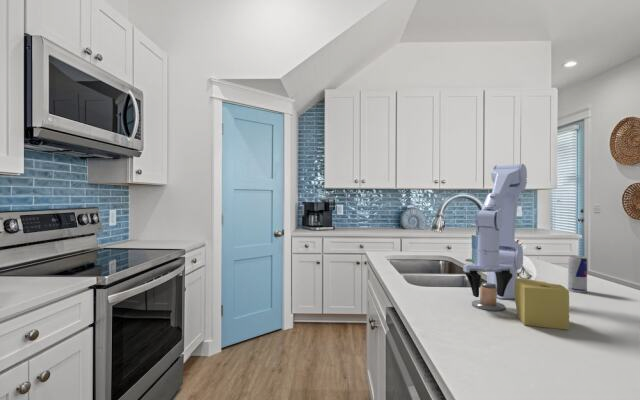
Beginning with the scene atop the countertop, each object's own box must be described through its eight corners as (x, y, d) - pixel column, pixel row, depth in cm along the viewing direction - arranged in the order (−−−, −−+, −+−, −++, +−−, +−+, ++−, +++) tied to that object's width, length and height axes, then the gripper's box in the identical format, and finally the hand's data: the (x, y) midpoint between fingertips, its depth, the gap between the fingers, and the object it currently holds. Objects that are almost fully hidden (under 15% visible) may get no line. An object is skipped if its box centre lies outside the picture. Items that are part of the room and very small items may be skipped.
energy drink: (590, 293, 121) (590, 258, 121) (572, 292, 122) (572, 257, 122) (581, 289, 126) (582, 256, 126) (565, 288, 127) (565, 255, 127)
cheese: (557, 317, 95) (557, 280, 95) (571, 331, 85) (571, 290, 85) (513, 313, 99) (514, 277, 99) (522, 326, 88) (522, 286, 88)
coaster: (466, 302, 109) (466, 300, 109) (493, 301, 110) (493, 299, 110) (481, 311, 100) (481, 309, 100) (511, 310, 101) (511, 308, 101)
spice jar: (484, 306, 102) (484, 285, 102) (477, 302, 107) (477, 282, 107) (499, 306, 103) (499, 285, 103) (491, 302, 107) (491, 282, 107)
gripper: (471, 252, 100) (471, 300, 100) (520, 252, 101) (519, 299, 101) (460, 249, 107) (459, 293, 107) (505, 249, 109) (505, 293, 108)
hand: (488, 296), depth 105 cm, fingers open, 7 cm apart
